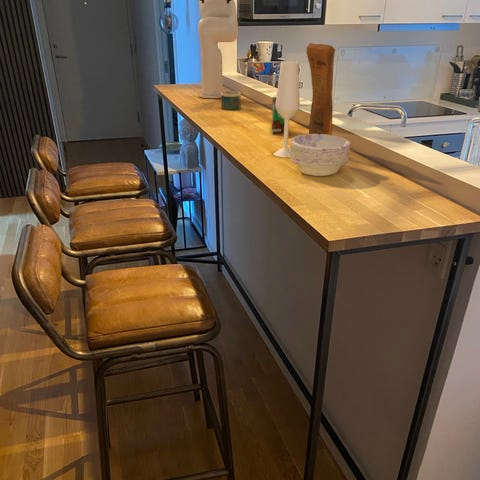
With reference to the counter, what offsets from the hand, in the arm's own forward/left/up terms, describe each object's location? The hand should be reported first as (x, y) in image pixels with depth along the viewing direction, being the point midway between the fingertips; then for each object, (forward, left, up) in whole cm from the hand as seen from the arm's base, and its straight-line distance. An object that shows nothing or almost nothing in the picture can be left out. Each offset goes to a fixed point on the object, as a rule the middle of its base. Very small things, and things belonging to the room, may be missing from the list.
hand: (215, 3), depth 193 cm
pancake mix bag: (+76, +23, -37) cm, 88 cm away
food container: (+51, +17, -37) cm, 65 cm away
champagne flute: (+81, +12, -37) cm, 90 cm away
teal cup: (+6, +5, -37) cm, 38 cm away
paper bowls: (+99, +17, -37) cm, 107 cm away
